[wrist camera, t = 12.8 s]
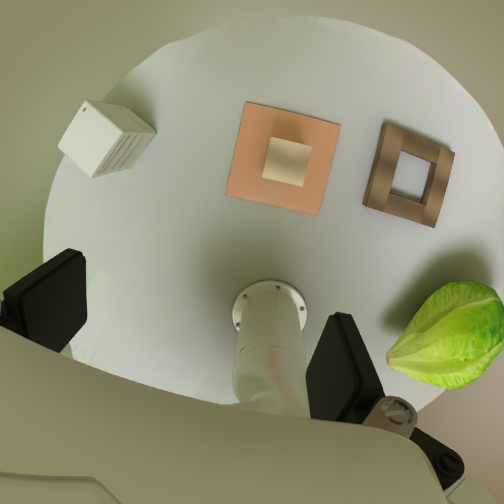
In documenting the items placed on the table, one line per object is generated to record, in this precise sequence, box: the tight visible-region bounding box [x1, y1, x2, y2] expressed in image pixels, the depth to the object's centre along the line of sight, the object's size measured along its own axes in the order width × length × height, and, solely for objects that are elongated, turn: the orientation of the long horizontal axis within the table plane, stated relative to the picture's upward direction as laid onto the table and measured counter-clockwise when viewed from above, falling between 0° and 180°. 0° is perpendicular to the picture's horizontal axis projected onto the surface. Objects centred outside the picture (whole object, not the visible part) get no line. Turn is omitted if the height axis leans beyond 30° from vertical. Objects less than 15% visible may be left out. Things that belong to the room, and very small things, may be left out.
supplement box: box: [58, 100, 157, 178], centre depth 37 cm, size 7×7×13 cm
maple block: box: [262, 137, 312, 187], centre depth 39 cm, size 5×5×8 cm
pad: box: [225, 102, 341, 216], centre depth 43 cm, size 14×14×1 cm
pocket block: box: [363, 123, 455, 228], centre depth 42 cm, size 13×13×2 cm
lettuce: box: [386, 280, 504, 390], centre depth 43 cm, size 19×25×17 cm
